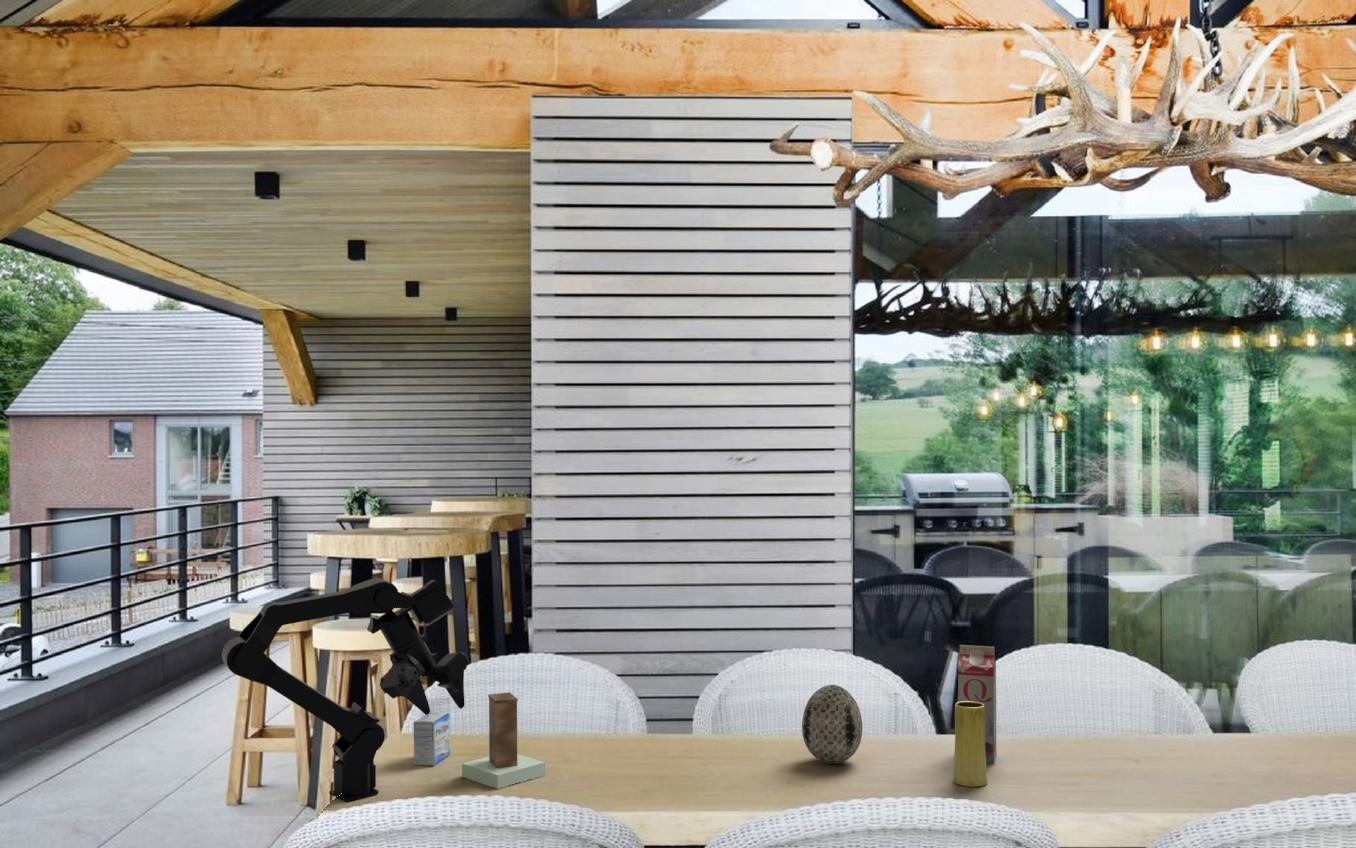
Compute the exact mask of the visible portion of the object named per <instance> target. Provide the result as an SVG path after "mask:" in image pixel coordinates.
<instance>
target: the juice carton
mask: <svg viewBox="0 0 1356 848" xmlns="http://www.w3.org/2000/svg"><path fill="white" fill-rule="evenodd" d="M995 652H996V651H995V646H989V645H988V646H987V645H986V646H984V645H967V644H966V645H965V644H959V656H958V663H957V671H958V672H957V676H958V679H957V680H958V681H957V682H958V683H957V684H958V686H957V691H958V692H957V694H958V696H957V697H958V701H957V702H960V701H974V702H979V703H982V704H984V721H985V754H986V764H990V765H991V764H992V765H995V762H996V757H997V679H996V678H997V662H996V657H995Z"/></svg>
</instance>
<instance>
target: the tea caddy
mask: <svg viewBox="0 0 1356 848" xmlns="http://www.w3.org/2000/svg"><path fill="white" fill-rule="evenodd" d="M487 698H488V737H489V738H488V740H489V741H488V746H489V753H488V754H489V755H488V757H489V761H490V762H491V763H492V764H493V765H494V766H495V767H496V768H503V767H511V766H517V754H518V701H519V700H518V699H519V698H517V697H516V696H515V695H514V694H513V693H512V692H500V693H491V694H490V693H489V694H488V695H487Z"/></svg>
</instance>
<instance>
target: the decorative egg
mask: <svg viewBox="0 0 1356 848" xmlns="http://www.w3.org/2000/svg"><path fill="white" fill-rule="evenodd" d="M863 731H864V730H863V719H862V713H861V710H860V708H859V705H858V703H857V701H856V700H855V698H854V696H853V695H852V694H851V693H850V692H849V691H848V690H847V689H845V688H844V687H842V686H839V685H836V684H827V685H824V686H821V687H820V688H819V689H817V690H816V691H815V692H814V693H813V694H812V695H811V697H809V699H808V701H807V703H806V705H805V708H804V711H803V715H802V722H801V733H802V738H803V741H804V745H805V747H806V748H807V750H808V751H809V753H810V754H811V755H812V756H813V757H815V759H817V760H819V761H820V762H822V763H824V764H825V763H826V764H830V765H836V764H842V763H843V762H846V761H848V760H849V759H850V758H851V757H852V756H854V755H855V754H856V752H857V750H858V749H859V747H860V744H861V741H862V737H863Z"/></svg>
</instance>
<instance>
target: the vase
mask: <svg viewBox="0 0 1356 848" xmlns="http://www.w3.org/2000/svg"><path fill="white" fill-rule="evenodd" d="M954 725H955V726H954V755H953V756H954V757H953V778H952V781H953V782H954V783H955V784H956V785H959V786H962V787H970V788H971V787H972V788H979V787H983V786H985V785H987V784H988V777H987V776H988V775H987V763H986V754H985V721H984V704H982V703H979V702H974V701H960V702H958V701H957V702H956V703H955V704H954Z"/></svg>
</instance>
